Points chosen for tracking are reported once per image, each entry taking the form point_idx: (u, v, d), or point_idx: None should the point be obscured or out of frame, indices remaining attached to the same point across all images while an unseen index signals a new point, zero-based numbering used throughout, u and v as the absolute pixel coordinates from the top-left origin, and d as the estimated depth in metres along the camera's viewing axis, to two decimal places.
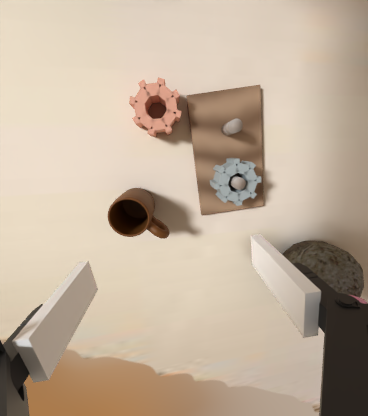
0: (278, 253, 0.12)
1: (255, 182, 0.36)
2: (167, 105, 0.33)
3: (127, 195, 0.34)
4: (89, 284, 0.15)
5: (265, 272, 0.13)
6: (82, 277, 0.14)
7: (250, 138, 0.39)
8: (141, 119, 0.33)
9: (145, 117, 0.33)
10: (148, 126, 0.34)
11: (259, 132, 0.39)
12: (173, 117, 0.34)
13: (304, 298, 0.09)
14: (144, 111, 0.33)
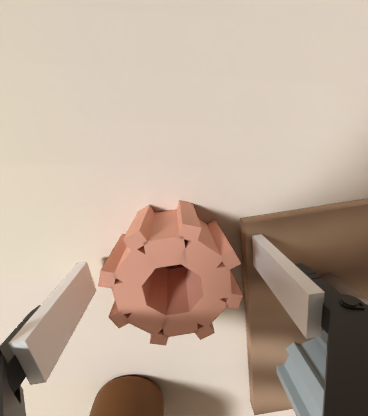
0: (280, 254, 0.12)
1: None
2: (205, 285, 0.12)
3: None
4: (87, 285, 0.14)
5: (267, 272, 0.13)
6: (81, 278, 0.14)
7: None
8: (133, 317, 0.12)
9: (144, 313, 0.12)
10: (152, 330, 0.13)
11: None
12: (220, 309, 0.12)
13: (307, 299, 0.09)
14: (141, 302, 0.12)
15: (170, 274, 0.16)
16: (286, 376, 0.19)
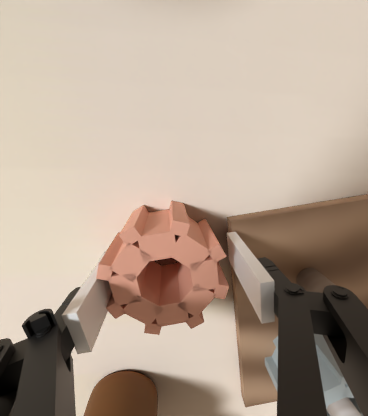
0: (246, 248, 0.13)
1: None
2: (195, 277, 0.13)
3: None
4: None
5: (237, 266, 0.14)
6: None
7: (352, 288, 0.19)
8: (129, 308, 0.13)
9: (139, 304, 0.13)
10: (146, 320, 0.14)
11: None
12: (208, 299, 0.14)
13: (260, 287, 0.10)
14: (136, 293, 0.13)
15: (163, 270, 0.17)
16: (273, 367, 0.20)
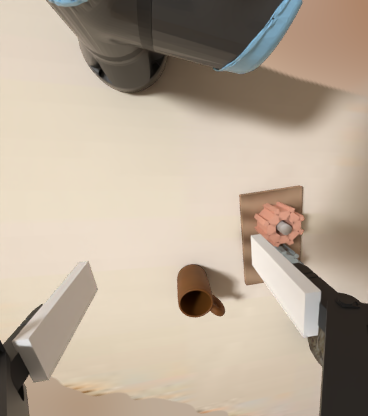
0: (278, 253, 0.12)
1: None
2: (293, 226, 0.40)
3: (194, 284, 0.41)
4: (89, 284, 0.15)
5: (265, 272, 0.13)
6: (82, 277, 0.14)
7: None
8: (271, 236, 0.41)
9: (274, 235, 0.41)
10: (275, 241, 0.41)
11: None
12: (296, 234, 0.41)
13: (304, 298, 0.09)
14: (274, 231, 0.40)
15: None
16: None
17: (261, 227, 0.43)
